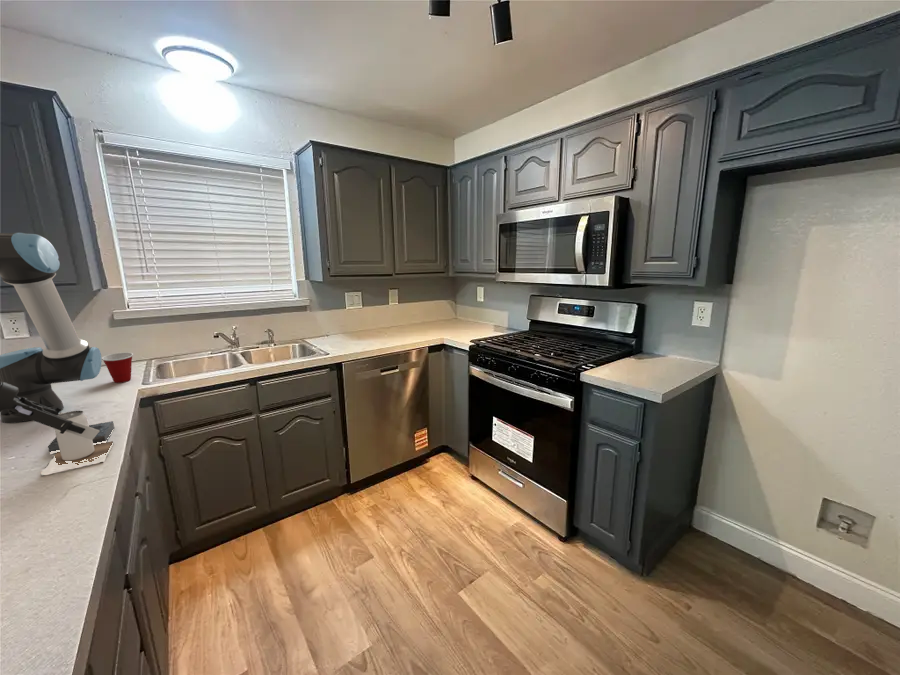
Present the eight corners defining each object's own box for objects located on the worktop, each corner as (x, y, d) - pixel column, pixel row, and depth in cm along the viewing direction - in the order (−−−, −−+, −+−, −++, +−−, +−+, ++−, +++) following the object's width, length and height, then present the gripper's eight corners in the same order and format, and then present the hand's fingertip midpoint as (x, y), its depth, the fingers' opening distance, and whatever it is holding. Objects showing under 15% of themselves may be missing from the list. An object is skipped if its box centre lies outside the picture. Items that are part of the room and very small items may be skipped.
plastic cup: (107, 386, 162) (101, 359, 160) (105, 381, 169) (100, 355, 167) (139, 380, 170) (134, 354, 167) (136, 375, 177) (131, 350, 174)
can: (91, 447, 108) (82, 408, 106) (97, 453, 105) (88, 413, 102) (59, 457, 103) (49, 416, 100) (65, 464, 99) (54, 422, 97)
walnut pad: (57, 455, 106) (56, 452, 105) (113, 444, 112) (112, 441, 112) (41, 476, 96) (40, 472, 96) (103, 462, 102) (103, 459, 102)
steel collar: (63, 437, 116) (61, 430, 116) (114, 428, 122) (112, 421, 122) (50, 454, 106) (47, 446, 106) (106, 443, 113) (104, 435, 112)
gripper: (-37, 399, 93) (66, 433, 109) (-21, 419, 81) (92, 454, 97) (-9, 373, 96) (86, 409, 112) (9, 389, 84) (114, 427, 100)
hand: (89, 430), depth 105 cm, fingers open, 10 cm apart
